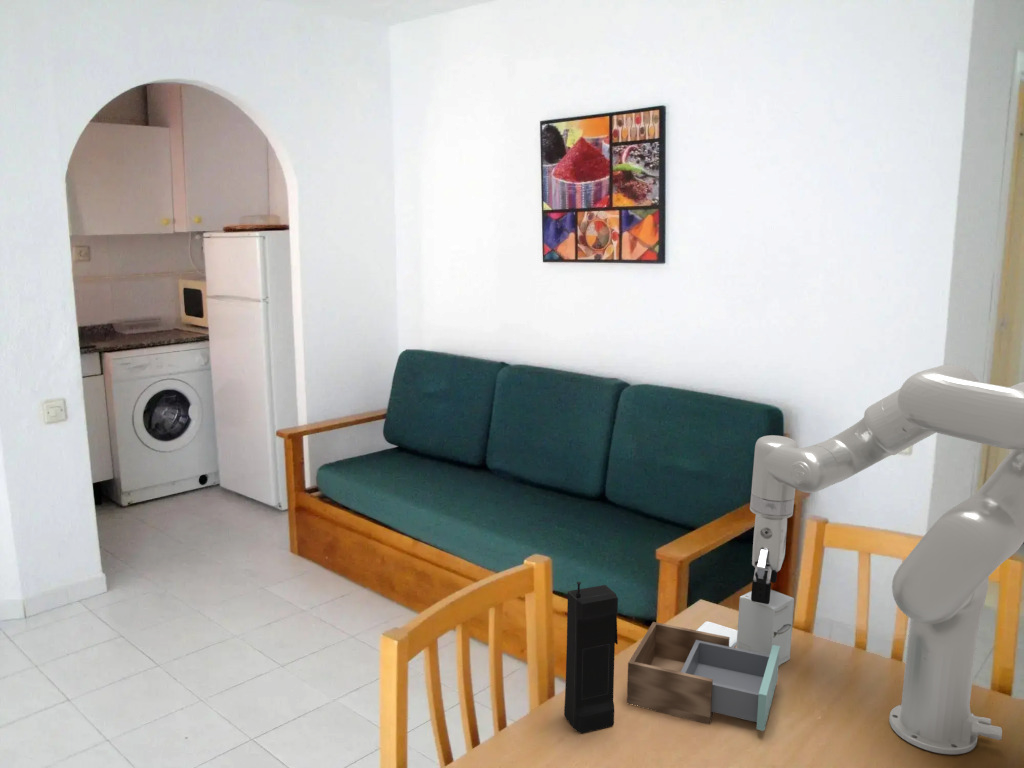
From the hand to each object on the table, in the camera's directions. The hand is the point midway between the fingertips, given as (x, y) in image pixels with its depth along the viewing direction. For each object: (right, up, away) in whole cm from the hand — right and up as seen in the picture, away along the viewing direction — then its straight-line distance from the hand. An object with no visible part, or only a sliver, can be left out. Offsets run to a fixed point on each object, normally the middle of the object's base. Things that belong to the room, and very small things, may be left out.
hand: (763, 591), depth 152 cm
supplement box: (0, -14, +2) cm, 14 cm away
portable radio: (-34, -17, -17) cm, 42 cm away
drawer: (-10, -14, -12) cm, 21 cm away
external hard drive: (-8, -13, +8) cm, 17 cm away
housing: (-18, -15, -8) cm, 25 cm away
